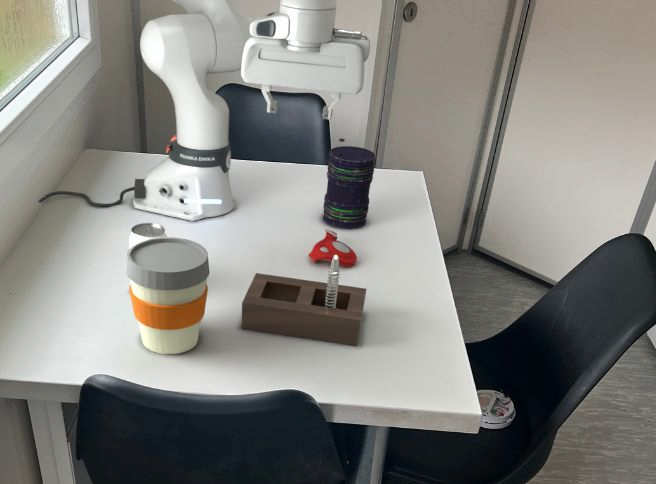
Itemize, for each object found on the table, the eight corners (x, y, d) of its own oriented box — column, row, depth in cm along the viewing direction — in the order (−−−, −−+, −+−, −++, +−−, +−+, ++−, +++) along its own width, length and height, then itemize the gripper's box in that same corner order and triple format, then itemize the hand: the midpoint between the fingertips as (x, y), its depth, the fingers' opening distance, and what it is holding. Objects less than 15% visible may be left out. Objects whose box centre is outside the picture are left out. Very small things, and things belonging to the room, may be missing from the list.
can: (139, 303, 126) (136, 239, 119) (127, 287, 131) (123, 224, 124) (174, 297, 129) (173, 234, 122) (161, 281, 134) (159, 219, 127)
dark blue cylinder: (355, 210, 167) (366, 130, 157) (373, 227, 160) (386, 145, 149) (315, 213, 164) (323, 132, 154) (331, 231, 157) (341, 147, 146)
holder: (356, 346, 119) (360, 319, 117) (240, 328, 122) (242, 302, 119) (362, 313, 128) (366, 288, 125) (254, 297, 131) (255, 272, 128)
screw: (330, 314, 127) (347, 327, 124) (308, 321, 125) (324, 334, 122) (338, 246, 120) (357, 257, 117) (315, 251, 117) (333, 263, 114)
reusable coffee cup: (142, 366, 111) (137, 278, 102) (122, 326, 120) (116, 242, 111) (220, 352, 115) (221, 266, 107) (194, 314, 125) (194, 232, 116)
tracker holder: (368, 258, 144) (331, 257, 138) (358, 276, 146) (321, 276, 140) (336, 223, 150) (299, 220, 144) (327, 241, 153) (290, 239, 147)
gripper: (373, 29, 117) (362, 117, 125) (248, 16, 119) (245, 104, 127) (370, 35, 112) (358, 127, 120) (240, 22, 114) (237, 113, 122)
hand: (299, 115), depth 123 cm, fingers open, 8 cm apart
